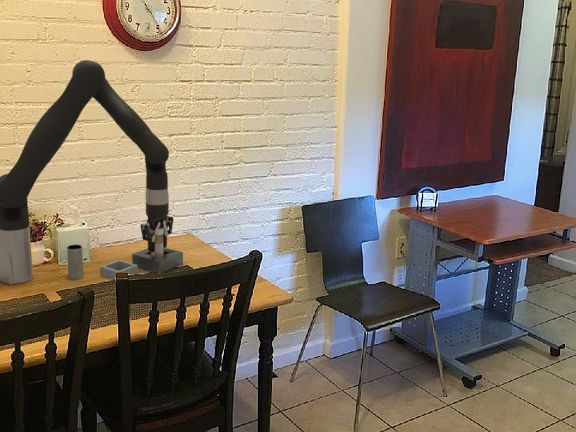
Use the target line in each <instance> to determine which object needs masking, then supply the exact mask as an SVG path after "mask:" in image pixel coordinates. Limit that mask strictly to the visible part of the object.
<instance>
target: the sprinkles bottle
mask: <svg viewBox="0 0 576 432" xmlns="http://www.w3.org/2000/svg"><path fill="white" fill-rule="evenodd" d="M150 231H151V232H154V230H151V229H150ZM163 234H164V229H163V228H160V229H158V233H157V235H156V236H155V240H154V241H155V252H151V256H155V257H161V256H164V243H163ZM150 238H152V234H151V237H150Z"/></svg>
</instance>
